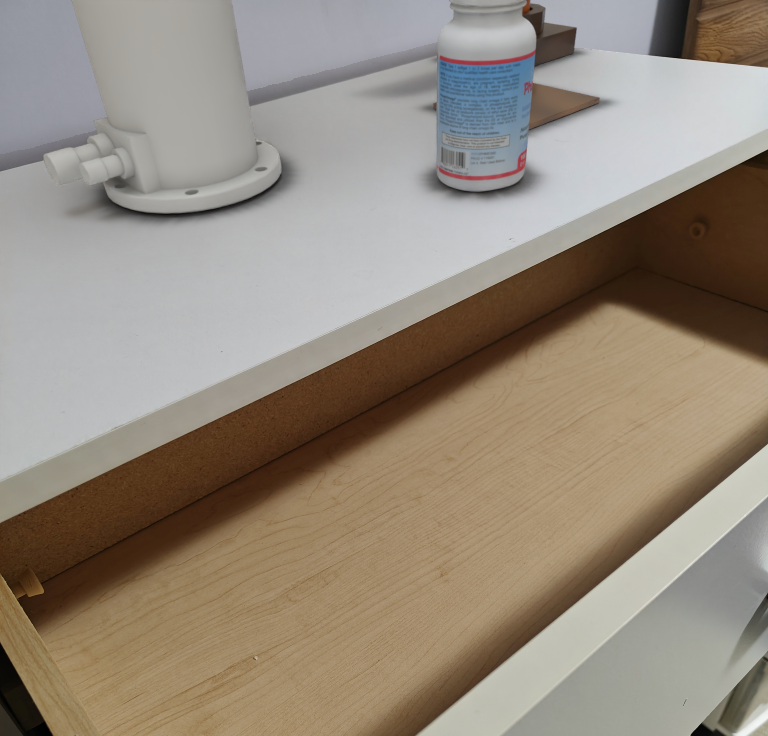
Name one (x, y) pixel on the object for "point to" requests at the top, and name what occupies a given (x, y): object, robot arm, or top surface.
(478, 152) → the pill bottle
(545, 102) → the coaster
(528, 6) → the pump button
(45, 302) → the top surface
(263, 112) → the top surface
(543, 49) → the button housing
